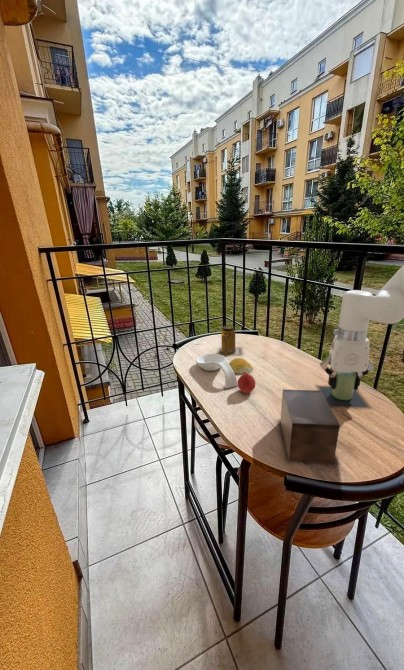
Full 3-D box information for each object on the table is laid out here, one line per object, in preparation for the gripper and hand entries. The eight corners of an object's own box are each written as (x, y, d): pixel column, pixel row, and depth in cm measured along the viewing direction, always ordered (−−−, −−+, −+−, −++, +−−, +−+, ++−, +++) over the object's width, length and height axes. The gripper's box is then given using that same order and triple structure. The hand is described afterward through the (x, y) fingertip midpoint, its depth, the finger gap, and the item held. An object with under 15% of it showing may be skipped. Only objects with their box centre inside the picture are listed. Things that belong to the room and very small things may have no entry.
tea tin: (348, 390, 91) (352, 368, 88) (355, 400, 86) (359, 377, 83) (328, 389, 92) (332, 367, 89) (334, 400, 86) (338, 377, 83)
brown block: (317, 424, 77) (321, 390, 73) (333, 464, 64) (339, 425, 60) (280, 423, 79) (282, 389, 75) (288, 461, 66) (292, 423, 62)
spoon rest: (191, 364, 115) (190, 348, 113) (217, 359, 119) (216, 343, 117) (217, 392, 95) (217, 373, 92) (247, 384, 99) (247, 366, 96)
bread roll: (243, 362, 115) (244, 354, 114) (253, 372, 107) (254, 363, 105) (225, 366, 113) (225, 357, 111) (233, 376, 105) (233, 366, 103)
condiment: (220, 349, 129) (220, 324, 124) (239, 349, 128) (239, 324, 124) (221, 356, 122) (220, 330, 118) (240, 355, 121) (241, 329, 117)
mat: (353, 389, 93) (353, 387, 93) (367, 408, 83) (368, 407, 83) (319, 388, 95) (319, 386, 95) (328, 407, 85) (329, 405, 84)
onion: (234, 392, 94) (233, 371, 92) (246, 386, 97) (246, 366, 95) (246, 400, 90) (246, 378, 87) (258, 394, 93) (259, 372, 90)
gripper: (324, 337, 79) (317, 392, 85) (390, 338, 77) (378, 394, 83) (317, 329, 86) (311, 380, 92) (377, 329, 84) (367, 382, 90)
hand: (343, 386), depth 88 cm, fingers closed on tea tin, 6 cm apart
